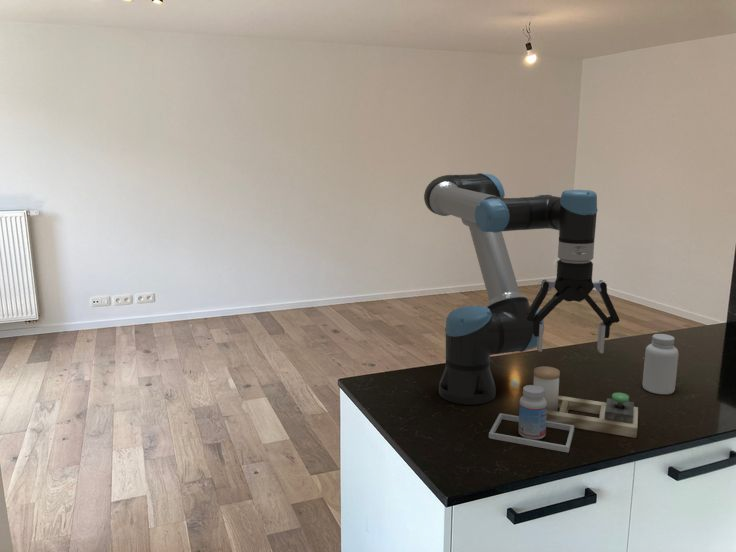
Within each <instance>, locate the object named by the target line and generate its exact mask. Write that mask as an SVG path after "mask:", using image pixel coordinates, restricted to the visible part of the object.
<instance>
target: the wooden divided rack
mask: <svg viewBox="0 0 736 552" xmlns="http://www.w3.org/2000/svg"><path fill="white" fill-rule="evenodd" d="M558 409H559V411H558V412H557V411H550V410H547V415H546V421H550V422H557V423H563V424H569V425H574V429H581V430H585V431H592V432H597V433H605V434H610V435H616V436H623V437H628V438H634V439H637V437H638V423H639V421H638V420H639V407H638V406H635V402H634V401H630V400H629V401H628V402H626V403H623V407H622V408H619V407H617V402H616V401H614V400H613V399H612V398H606V402H604V401H597V400H591V399H583V398H576V397H571V396H564V395H558ZM570 410H571V411H575V412H581V413H588V414H594V415H599V417H593V416H587V415H582V414H574V413H568V412H569V411H570Z"/></svg>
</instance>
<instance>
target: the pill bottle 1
mask: <svg viewBox="0 0 736 552" xmlns="http://www.w3.org/2000/svg"><path fill="white" fill-rule="evenodd" d="M522 390H523V391H522V396H521V397H520V398H519V404H518V406H519V407H518V410H519V411H518V413H519V414H518V416H519V422H518V434H519V435H520V436H521V438H526V439H532V440H541V439H543V438H544V437H546V434H547V427H546V415H547V401H546V400H545V398H544V397H543V396H544V389H543V388H542V387H540V386H537V385H534V384H527V385H525V386H523V388H522Z"/></svg>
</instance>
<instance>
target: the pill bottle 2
mask: <svg viewBox="0 0 736 552" xmlns="http://www.w3.org/2000/svg"><path fill="white" fill-rule="evenodd" d="M675 339H676V338H675V337H674V336H673V335H670V334H666V333H654V334H653V335H652V336H651V343H650V344H648V345H647V346H646V347H645V354H644V364H643V375H642V387H643V389H644V390H646V391H647V392H649V393H652V394H657V395H671V394H673V393H674V392H675V390H676V383H677V382H676V381H677V371H678V362H679V350H678V348H677V347H676V346H675Z"/></svg>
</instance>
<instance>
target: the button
mask: <svg viewBox="0 0 736 552" xmlns="http://www.w3.org/2000/svg"><path fill="white" fill-rule="evenodd" d="M611 399H613V400H614V401H616V402H617V407H619V408H622V407H623V403H626V402H628V401H630V400H629V399H630V395H628V394H627V393H624V392H614V393H612V395H611Z"/></svg>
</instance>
